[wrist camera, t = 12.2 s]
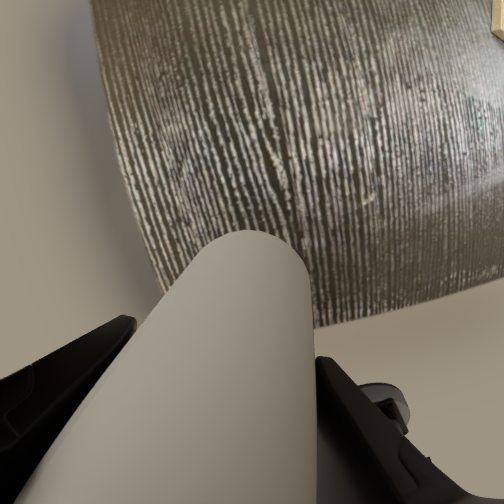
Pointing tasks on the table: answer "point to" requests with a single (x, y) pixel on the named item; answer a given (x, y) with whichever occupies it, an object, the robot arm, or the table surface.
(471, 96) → the table surface
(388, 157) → the table surface
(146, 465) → the beverage can
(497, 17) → the bracket
